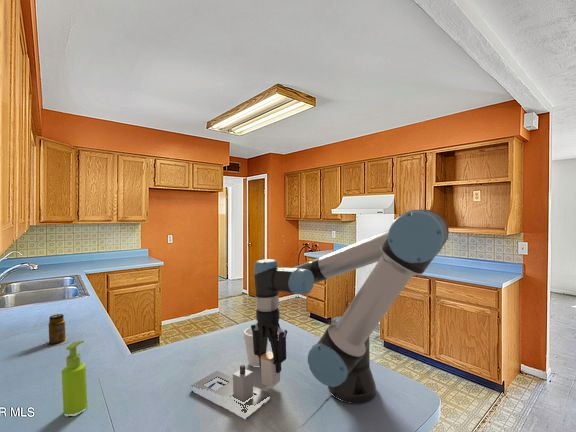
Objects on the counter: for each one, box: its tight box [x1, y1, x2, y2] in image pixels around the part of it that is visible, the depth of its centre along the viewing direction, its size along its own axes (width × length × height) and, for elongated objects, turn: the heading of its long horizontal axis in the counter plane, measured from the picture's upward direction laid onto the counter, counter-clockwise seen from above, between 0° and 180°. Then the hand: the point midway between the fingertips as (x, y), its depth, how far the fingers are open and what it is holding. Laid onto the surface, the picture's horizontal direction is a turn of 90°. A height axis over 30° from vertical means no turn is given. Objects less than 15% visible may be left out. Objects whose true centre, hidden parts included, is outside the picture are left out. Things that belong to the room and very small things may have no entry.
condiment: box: [46, 313, 69, 348], centre depth 142 cm, size 7×8×12 cm
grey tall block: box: [232, 364, 254, 402], centre depth 95 cm, size 4×4×11 cm
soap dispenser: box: [61, 340, 88, 415], centre depth 94 cm, size 6×7×20 cm
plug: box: [260, 350, 281, 388], centre depth 101 cm, size 4×4×9 cm
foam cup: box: [243, 326, 269, 366], centre depth 118 cm, size 10×9×13 cm
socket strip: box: [190, 370, 271, 413], centre depth 99 cm, size 24×11×2 cm, turn 54°
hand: (270, 379), depth 102 cm, fingers closed on plug, 4 cm apart
